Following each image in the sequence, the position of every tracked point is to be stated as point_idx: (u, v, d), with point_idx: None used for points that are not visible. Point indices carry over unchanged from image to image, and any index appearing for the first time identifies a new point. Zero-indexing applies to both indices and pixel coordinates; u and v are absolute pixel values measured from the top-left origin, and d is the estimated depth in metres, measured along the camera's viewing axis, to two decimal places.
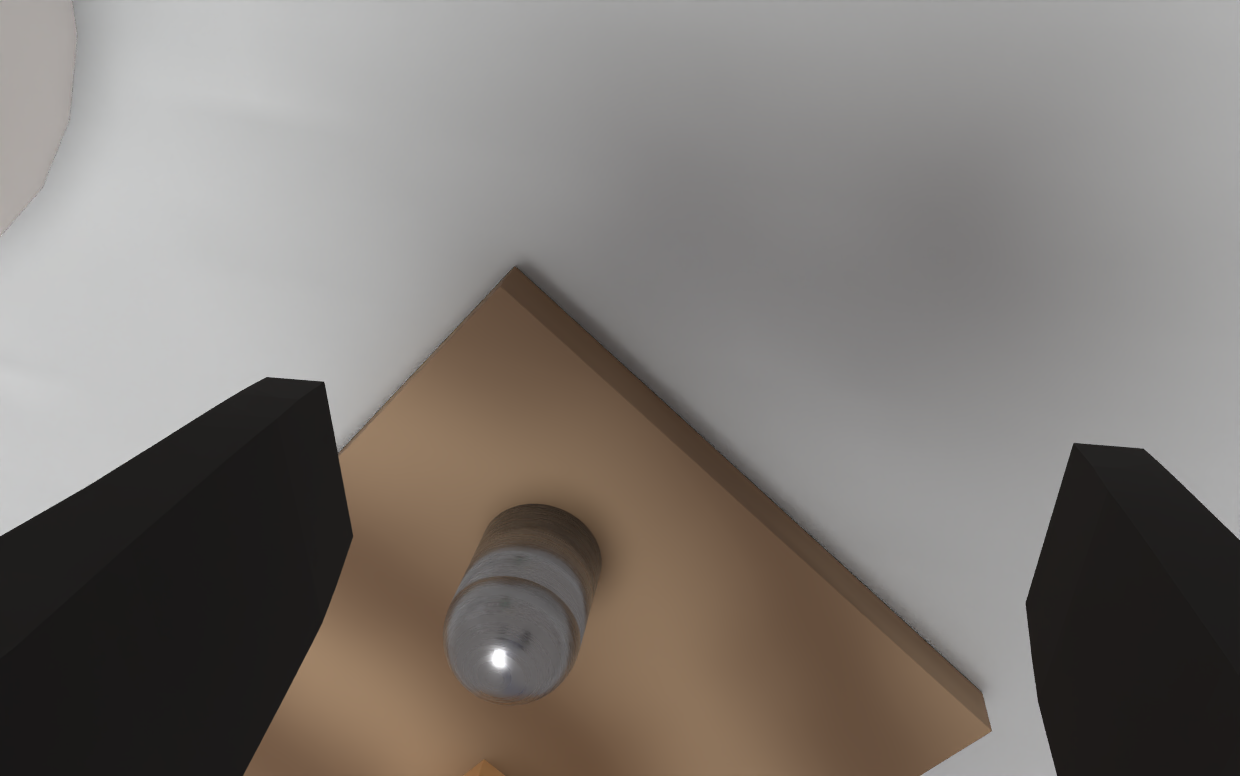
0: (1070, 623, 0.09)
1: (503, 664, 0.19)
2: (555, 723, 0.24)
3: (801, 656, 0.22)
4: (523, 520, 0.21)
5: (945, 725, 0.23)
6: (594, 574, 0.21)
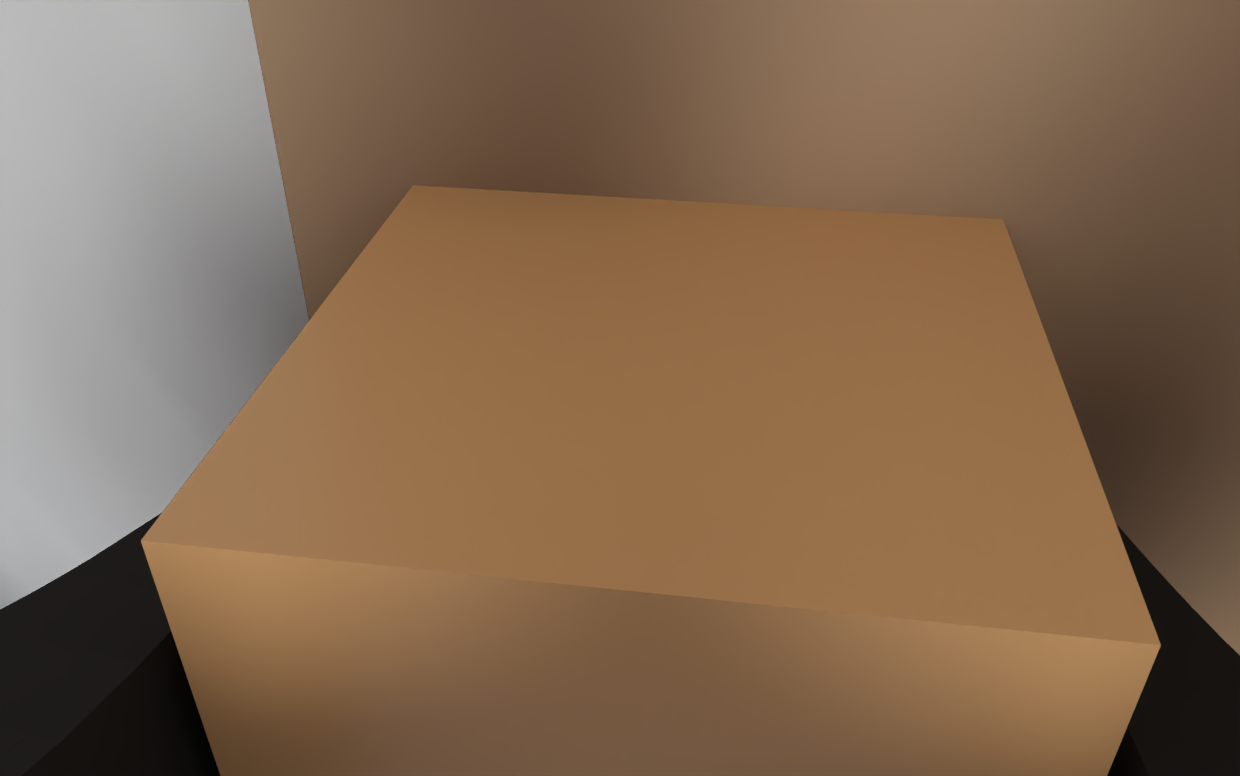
0: None
1: None
2: None
3: None
4: None
5: None
6: None
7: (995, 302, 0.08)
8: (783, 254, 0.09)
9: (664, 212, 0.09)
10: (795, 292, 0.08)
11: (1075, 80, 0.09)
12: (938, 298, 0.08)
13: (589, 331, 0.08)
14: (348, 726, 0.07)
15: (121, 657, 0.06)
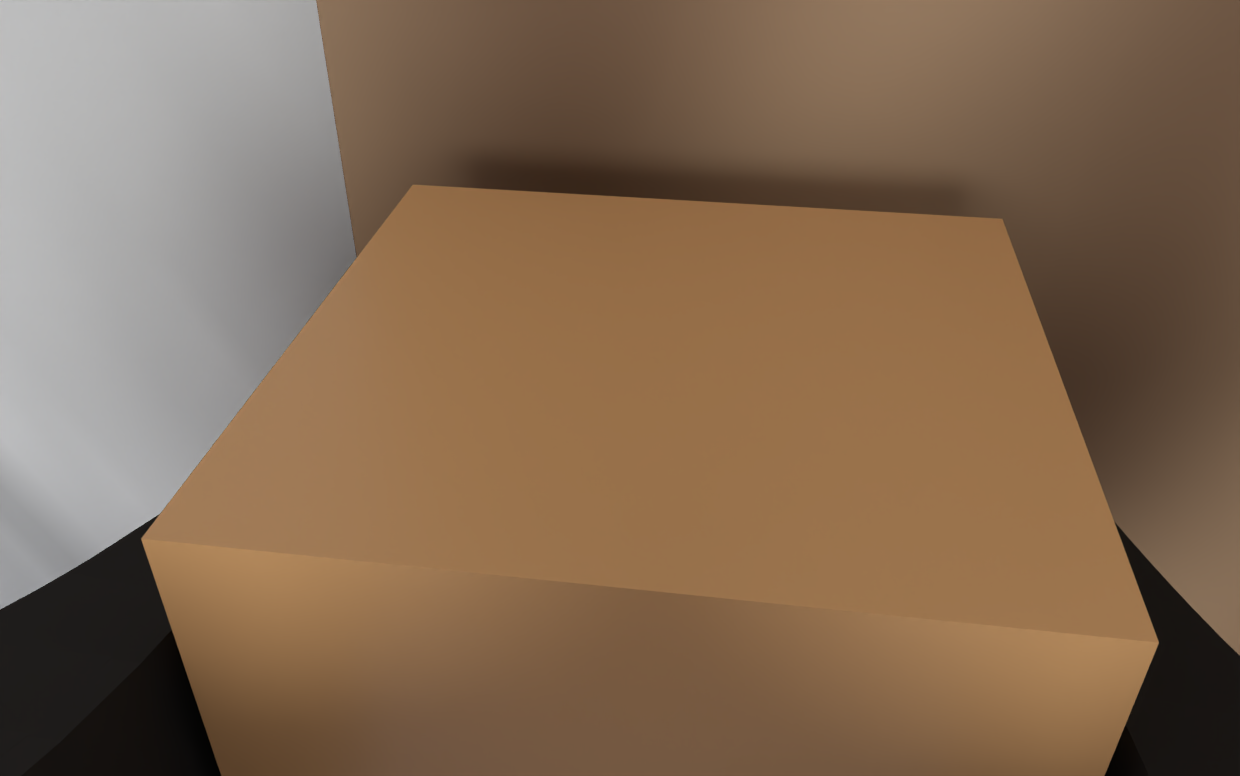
0: None
1: None
2: (1206, 207, 0.10)
3: None
4: None
5: None
6: None
7: (994, 301, 0.08)
8: (783, 253, 0.09)
9: (664, 211, 0.09)
10: (794, 293, 0.08)
11: (1052, 28, 0.10)
12: (937, 297, 0.08)
13: (589, 330, 0.08)
14: (348, 724, 0.07)
15: (120, 657, 0.06)
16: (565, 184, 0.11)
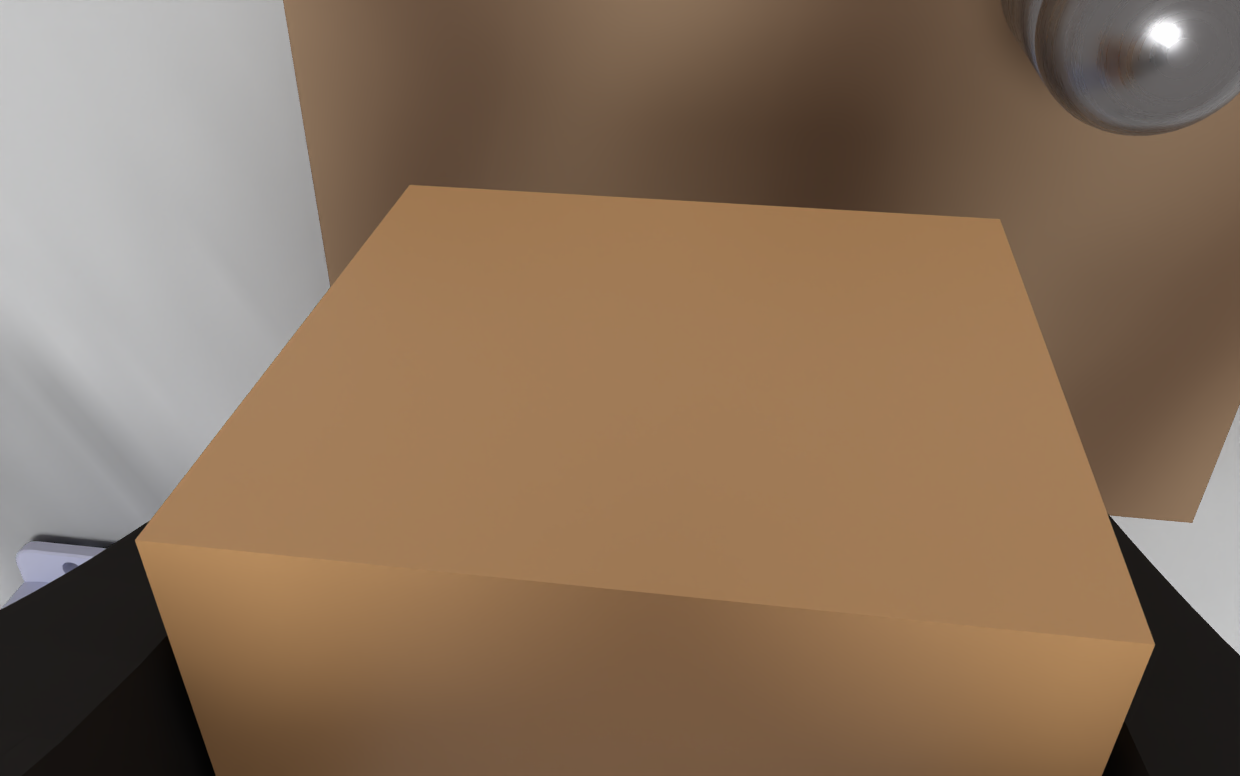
0: None
1: (1214, 45, 0.11)
2: (839, 178, 0.17)
3: (1160, 325, 0.17)
4: None
5: (1167, 488, 0.19)
6: None
7: (991, 302, 0.08)
8: (780, 254, 0.09)
9: (661, 210, 0.09)
10: (790, 292, 0.08)
11: (732, 68, 0.16)
12: (934, 298, 0.08)
13: (585, 331, 0.08)
14: (343, 726, 0.07)
15: (120, 657, 0.06)
16: (450, 164, 0.18)
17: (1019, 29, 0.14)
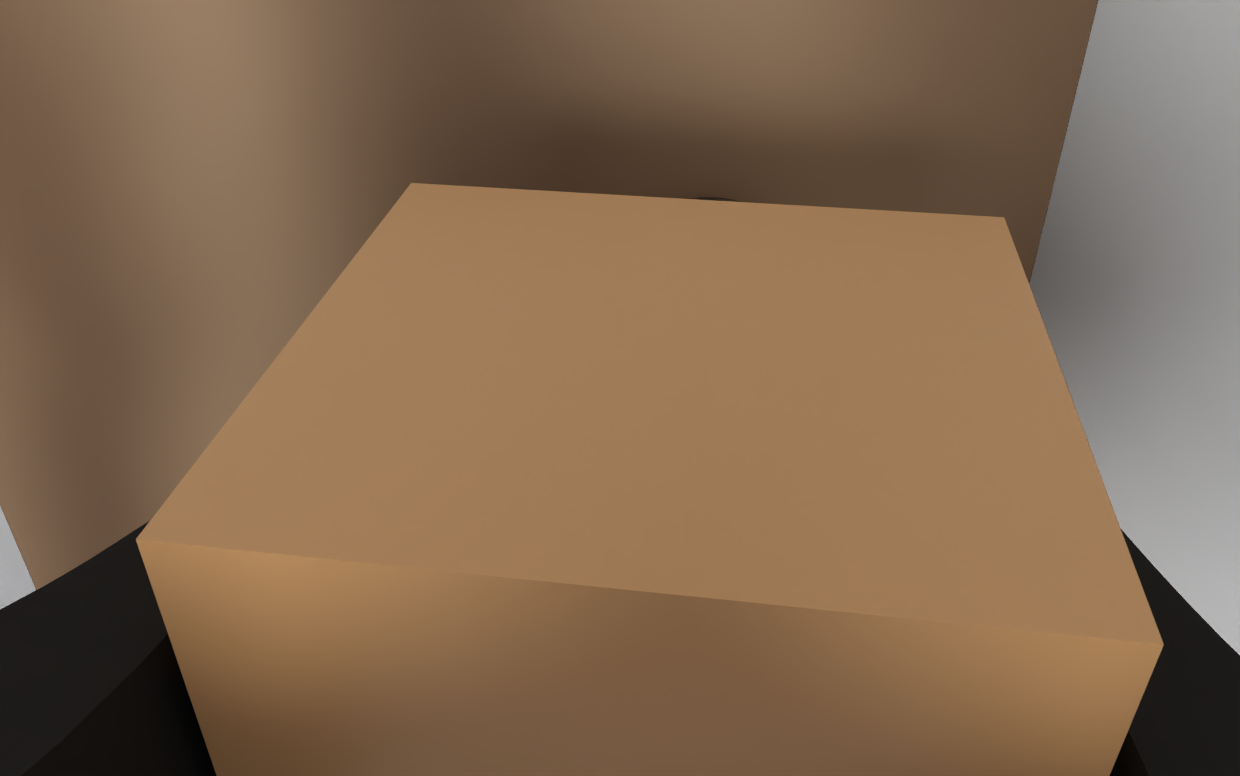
0: None
1: None
2: None
3: None
4: None
5: None
6: None
7: (996, 300, 0.08)
8: (783, 252, 0.09)
9: (663, 209, 0.09)
10: (794, 291, 0.08)
11: None
12: (939, 296, 0.08)
13: (588, 329, 0.08)
14: (345, 726, 0.06)
15: (120, 657, 0.06)
16: (104, 432, 0.17)
17: None
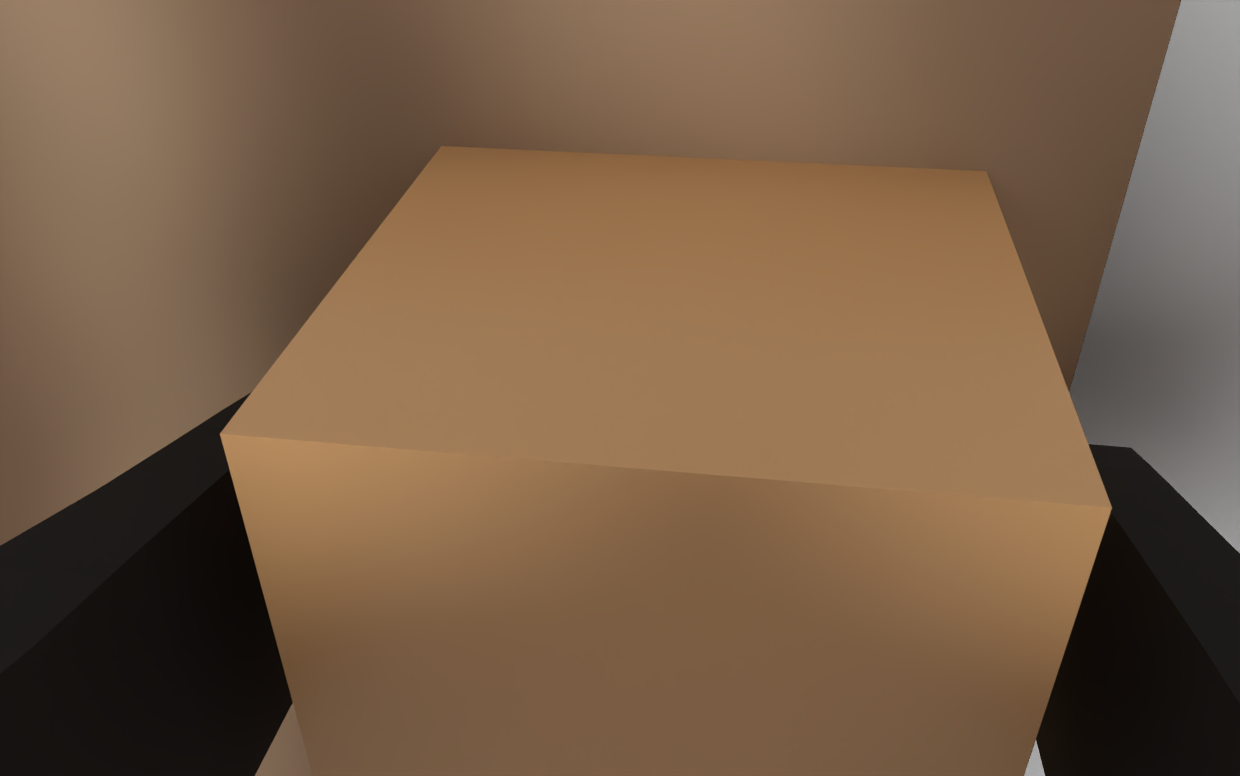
0: None
1: None
2: None
3: None
4: None
5: None
6: None
7: (977, 240, 0.09)
8: (784, 202, 0.10)
9: (674, 166, 0.10)
10: (794, 233, 0.09)
11: None
12: (925, 237, 0.09)
13: (608, 266, 0.09)
14: (398, 608, 0.07)
15: (13, 644, 0.07)
16: (14, 529, 0.15)
17: None
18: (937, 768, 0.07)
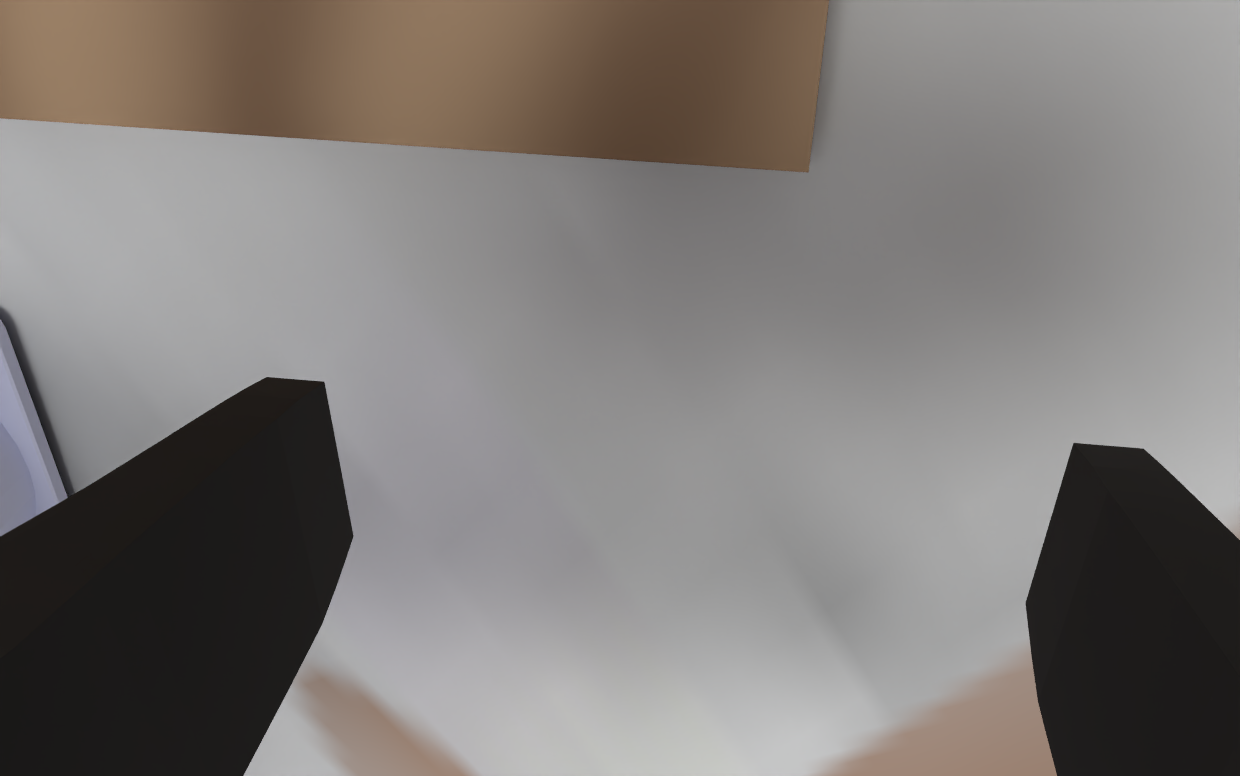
0: (1070, 623, 0.09)
1: None
2: None
3: None
4: None
5: (772, 125, 0.16)
6: None
7: None
8: None
9: None
10: None
11: None
12: None
13: None
14: None
15: None
16: None
17: None
18: None
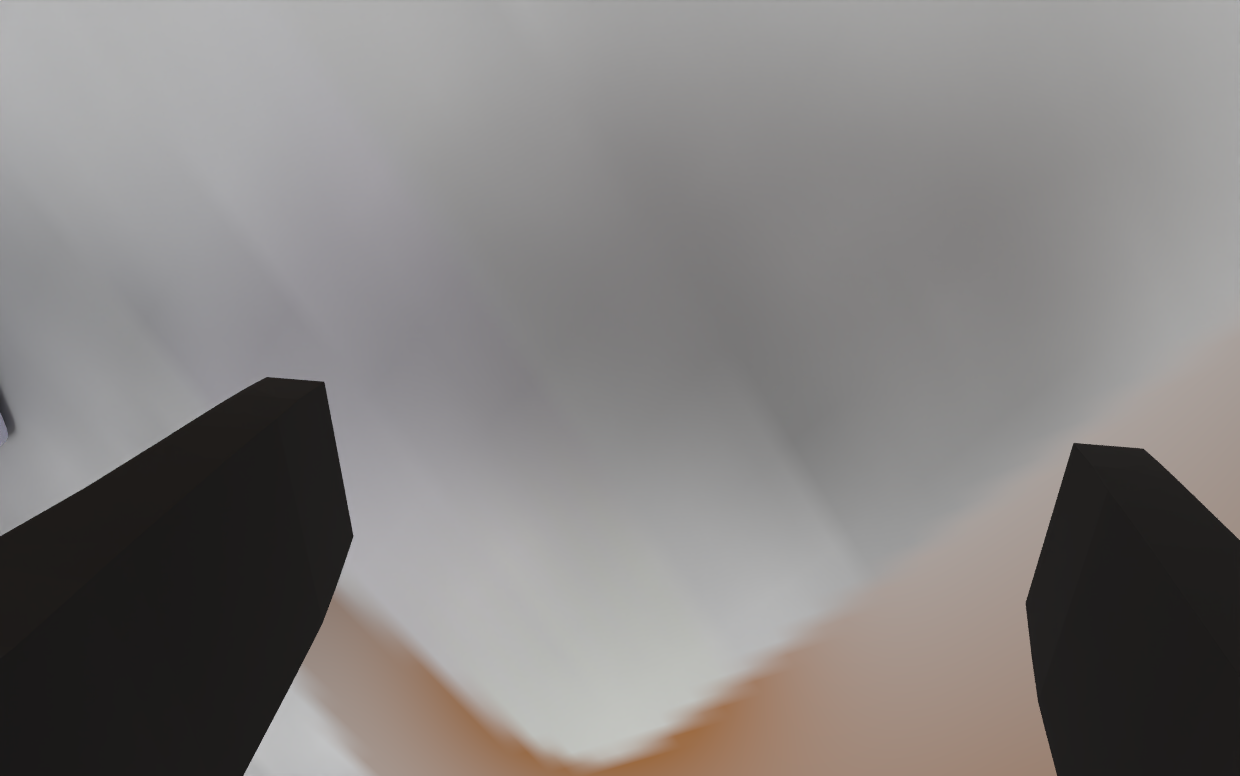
0: (1070, 623, 0.09)
1: None
2: None
3: None
4: None
5: None
6: None
7: None
8: None
9: None
10: None
11: None
12: None
13: None
14: None
15: None
16: None
17: None
18: None
